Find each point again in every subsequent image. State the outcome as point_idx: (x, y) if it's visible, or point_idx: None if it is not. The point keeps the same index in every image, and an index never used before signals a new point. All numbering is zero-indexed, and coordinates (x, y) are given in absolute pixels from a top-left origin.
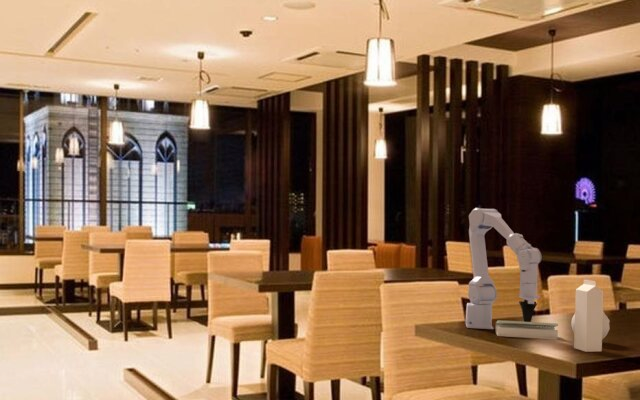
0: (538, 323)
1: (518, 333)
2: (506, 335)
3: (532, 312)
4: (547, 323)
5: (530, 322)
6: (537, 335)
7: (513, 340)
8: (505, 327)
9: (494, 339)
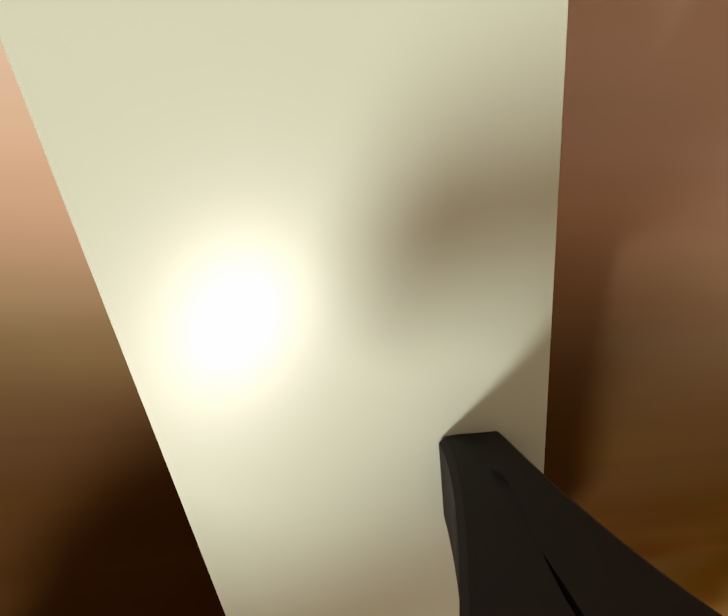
0: (551, 284)
1: None
2: None
3: (693, 602)
4: (560, 66)
5: (540, 430)
6: None
7: (695, 439)
8: None
9: (672, 563)
